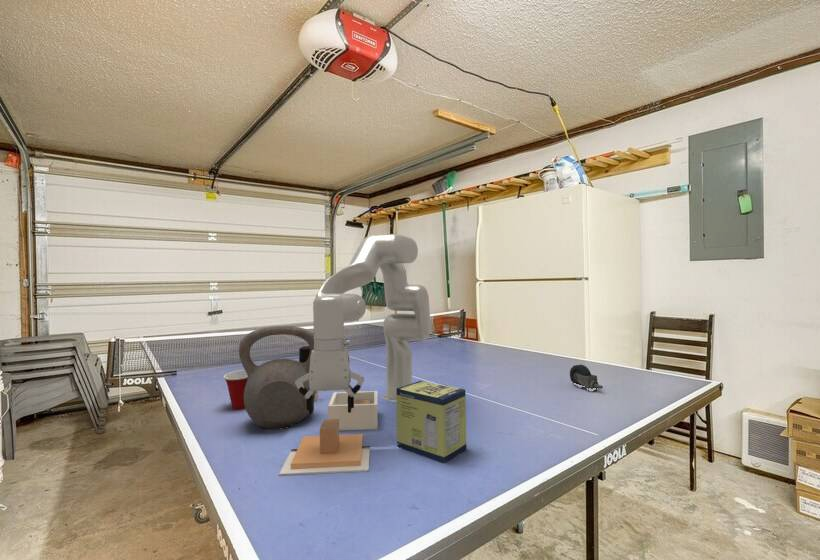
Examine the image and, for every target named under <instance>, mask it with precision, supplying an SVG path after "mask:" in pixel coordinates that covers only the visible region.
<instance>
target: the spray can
mask: <svg viewBox="0 0 820 560" xmlns="http://www.w3.org/2000/svg"><path fill="white" fill-rule="evenodd" d="M298 352H299V353H298V355H299V356H298V358H299V359H298V362H300V363H304V362H306V361H307V359H308V357H309V354H310V347H309V345H305V346H301V347H300V348H299V350H298ZM318 401H319V391H315V398H314V402H318Z"/></svg>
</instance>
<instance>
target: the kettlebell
mask: <svg viewBox="0 0 820 560" xmlns="http://www.w3.org/2000/svg"><path fill="white" fill-rule="evenodd" d="M280 335H283V336H284V335H286V336H295V337H298V338H300V339H302V340H304V341H305V342H306V343H307V344H308V346H309V347H310V354H309V357H308V359H307V361H306V362H304V363H300V362H299V360H295V359H291V358H276V359H275V358H274V359H271V360H268V361H266V362H263V363H261V364H260V365H257V364H255V362H253V360H252V358H251V354H250V353H251V347H252V346H253V345H254V344H255V343H256V342H258V341H259V340H261V339H264V338H267V337H270V336H271V337H272V336H280ZM238 347H239V348H238V353H239V355H238V356H239V359H240V362H241V366H242V367H243V368H244V369H243V370H245V371H246V373H247V375H248V379H247V383H246V386H245V391H244V404H245V408H244V409H245V411H246V413H247V415H248V417H249V418H250V419H251V421H252V422H253V423H255V424H257V425H258V426H259V427H262V428H264V429H266V428H268V429H267V430H281V429H280V428H283V429H286V427H288V428H291V427H292V426H293V425H295V424H298V423H300V422H302V421H303V420H305V418H306V417H307V416H308V415H309V410H307V403H306V398H305V396H304V395H302V394H301V393H300V392H299V389H298V388H297V386H296V384H295V381H296V380H297V379H299V378H300V377H302V376H304V375H306V374H308V373H309V368H310V358H311V352H312V350H314V331H311V330H309V329H307V328H304V327H300V326H291V325H275V326H265V327H262V328H258V329H255V330H253V331H251V332H249V333H247V334H246V335H244V336H243V338H242V339H241V341H240V343H239V346H238ZM302 384H303V386H304V387H305V388H306V389H307V390H309V389H310V388H309V379H308V380H306V381H304V382H303V383H302ZM312 395H313V396H314V398H315V391H314V392H313V394H312Z"/></svg>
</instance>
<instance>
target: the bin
mask: <svg viewBox="0 0 820 560" xmlns="http://www.w3.org/2000/svg"><path fill="white" fill-rule="evenodd" d="M378 398H379V397H378V390H368V391H367V390H365V391H358V392H357V393H356V394H355V395H354V400H370V404H354V408H352V409H351V413H349V412H348V393H347V392H346V391H338V392H337V391H334V392H332V396H331V398H330V401H329V403H328V406H327V411H328V412H327V413H328V414H327V416H328V418H327V419H339V431H359V430H361V431H362V430H363V431H364V430H378V426H379V425H378V421H379V420H378V419H379V418H378V413H379V411H378V409H379V407H378V406H379V405H378Z"/></svg>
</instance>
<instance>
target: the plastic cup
mask: <svg viewBox="0 0 820 560" xmlns="http://www.w3.org/2000/svg"><path fill="white" fill-rule="evenodd" d="M223 379H224V380H225V382H226V385H227V389H228V394H229V400H230V403H231V407H232V409H233V410H243V409H246V408H245V404H244V391H245V386H246V383H247V379H248V375H247V373H246V371H245V369H239V370H233V371H231V372H228V373H225V374H224V375H223Z"/></svg>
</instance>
